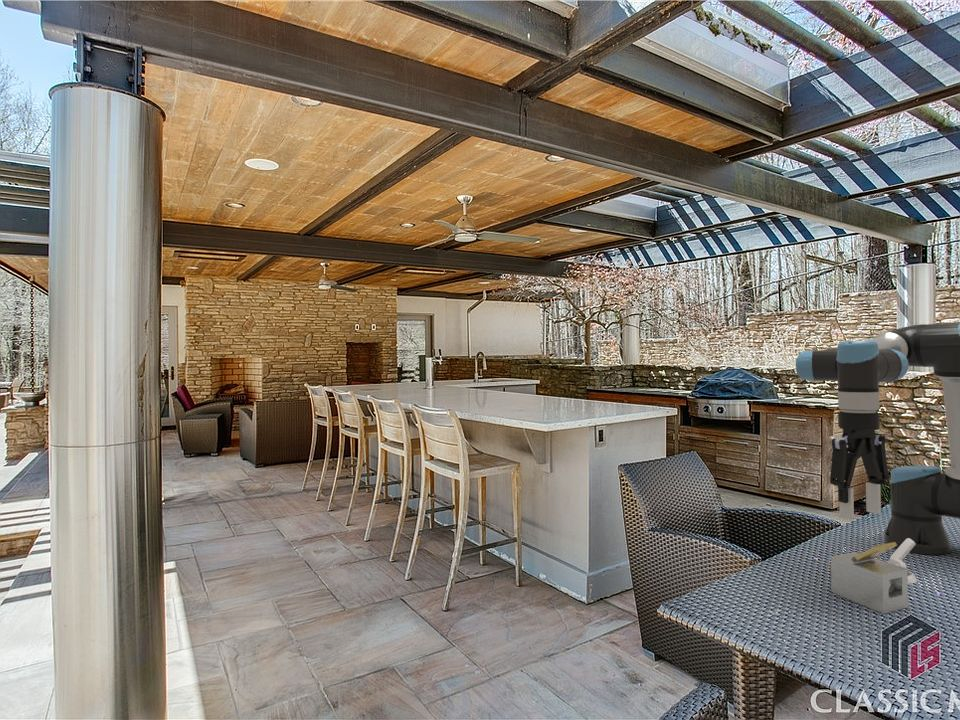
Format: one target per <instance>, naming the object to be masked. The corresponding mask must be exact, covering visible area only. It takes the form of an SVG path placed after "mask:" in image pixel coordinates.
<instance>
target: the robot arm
mask: <svg viewBox="0 0 960 720" xmlns="http://www.w3.org/2000/svg"><path fill="white" fill-rule="evenodd" d="M909 367H917V368H918V367H920V368H923V367H924V368H925V367H926V368H932V369H933V375H934V377H935V378H937V379H939V380H940V381H941V383H942V393H943V403H944V404H943V405H944V411H945V420H946V429H947V430H946V431H947V439H948V441H947V442H948V450H949V457H950V465H949V467H947V468H946V469H945V470H944V473H942V471H943V470H942V469H941V467H939V466H935V465H906V466H904V465H903V466H898V467H895V468H893V469H892V470H891V472H890V477H889V470H888V469H889V468H888V461H887V455H886V454H887V453H886V440H887V439H886V438H887V437H886V436H884V435H879V434H876V432H875V431H878V430H879V429H880V426H881V425H880V423H881V422H880V413H879V412H877V411H879V410H880V409H881V408H880V406H881V405H880V386H879V384H880V383H892V382H896V381H898V380H901V379H902V378H904V377H905V376H906V374H907V373H908V371H909ZM795 372H796V375H797V376H798V377H799V378H800V379H801V380H804V381H813V382H816V381H817V382H818V381H820V382H822V381H823V382H824V381H825V382H832V381H834V382H837V401H838V403H837V405H838V406H837V407H838V409H839V410H840V411H839V412H838V413H837V418H838V420H837V425H838V427H839V428H840V429H841V430H842V435H841V437H840V438H832V439H831V446H832V455H831V464H830V473H829V474H830V476H829V483H830V484H831V485H833V486H835V487H837V494H838V495H837V498H838V502H839V503H838V504H839V505H838V506H839V513H838V514H839V516H840V517H842V518H846V519H849V520H854V519H855V513H854V512H855V511H854V508H855V507H854V506H855V504H854V503H855V502H854V488H853V487H851V484H852V481H853V478H854V473H855V470H856V466H857V462H858V460H859V459H861V460H862V461H861V462H862V463H863V466H864V470H865V473H866V476H867V479H868V481H867V482H865V502H866V504H865V506H866V507H865V509H866V512H868V513H871V514H874V515H875V514H876V515H882V506H881V505H882V503H881V502H882V500H881V499H882V485H887V482H888V480H889V478H890V481H889V484H890V509H891V510H890V511H891V514H890V515H891V516H890V519H889V521H888V524H887V526H886V529H885V532H884V544H887V543H892V542H895V543H896V544H897V546H895V547H893V548H894V549H896V550H897V549H898V548H899V546H900V545H901V544H902V543H903V542H904V541H905V540H906V539H907V538H910V539H911V540H913V541H914V542H915V546H914V547H913V548H912V549H911V551H910V552H909V553H915V554H920V555H930V556H931V555H933V556H935V555H936V556H938V555H939V556H941V555H947V554H948V555H949V554H950V553H951V550H952V549H951V541H950V540H949V537H948V535H947V532H946V529H945V527H944V525H943V517H949V518H954V519H958V520H960V321H959V322H956V321H953V322H943V323H940V322H939V323H929V324H923V323H922V324H913V325H908V326H904V327H899V328H896V329H892V330H889V331H885V332H881V333H878V334H877V335H875V336H873V338H870V339H867V340H844V341H841V342H839V343H838V344H837V346H836V347H832V348H826V349H822V350H815V349H811V350H804V351H802V352H800V353H798V355H797V357H796V360H795Z"/></svg>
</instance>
